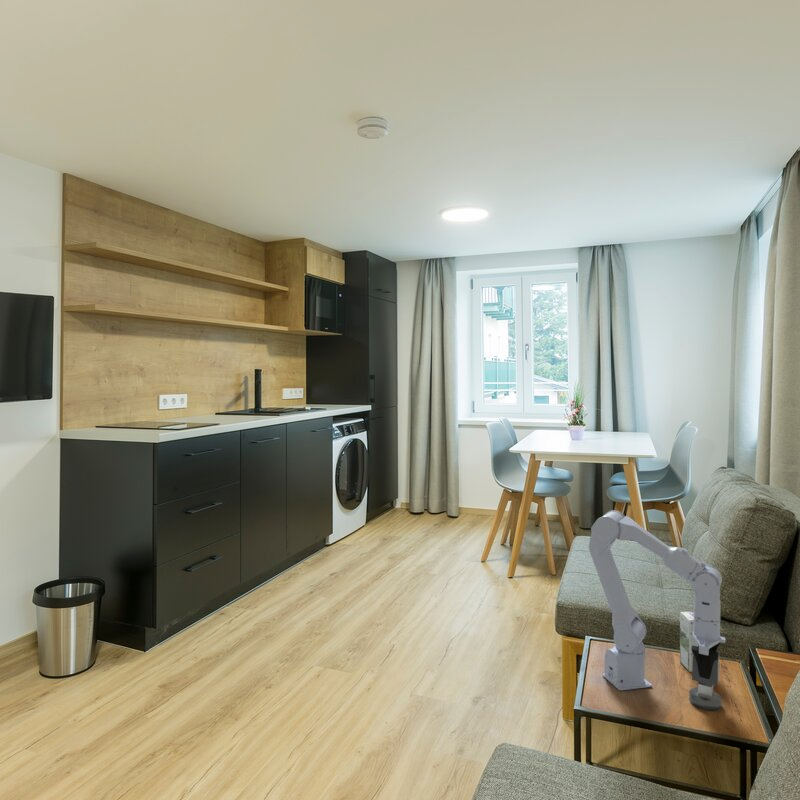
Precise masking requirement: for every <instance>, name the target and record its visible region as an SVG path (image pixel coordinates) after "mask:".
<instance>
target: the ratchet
mask: <svg viewBox="0 0 800 800" xmlns="http://www.w3.org/2000/svg"><path fill="white" fill-rule="evenodd" d="M697 682H698V684H697V687H692V688H690V689H689V691H688V692H689V693H688V695H689V696H688V699H689V702H690V704H692V705H693V706H694V707H695V708H698V709H699V710H700V709H701V710H703V711H708V712H719V711H720V710H721V709H722V708H723V706H722V703H723V702H722V701H723V699H722V696H721V695H720V694H719V693H717V692H716V691H714V689H715V688H714V687H715V685H711V684H707V683H703V682H699V681H697Z"/></svg>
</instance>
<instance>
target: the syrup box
mask: <svg viewBox="0 0 800 800" xmlns="http://www.w3.org/2000/svg"><path fill="white" fill-rule="evenodd" d="M679 614H680V615H679V663H680V664H681V665H682V666H683V667H684V668H685V669H686V670H687V671H688V672H689V673H692V668H693V653H692V645H693V646H698V644H697V642H696V641H695V639H694V638H693V630H694V611H680V613H679Z"/></svg>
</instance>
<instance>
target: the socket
mask: <svg viewBox="0 0 800 800" xmlns="http://www.w3.org/2000/svg"><path fill="white" fill-rule="evenodd" d="M710 651H711V650H710ZM714 652H718V656H717V658H716V660H715V661H714V663H713V667H712V672H711V676H710V679H706V678H702V677H700V676H699V672H698V666H697V662H696V659H695V656H694V654H693V668H692V672H691V673H692V674H691V675H692V677H691V678H692V681H695V682H703V683H707V684H711V685H714V687H715V686H717V687H718V686H719V679H720V651H717V650H716V651H714Z"/></svg>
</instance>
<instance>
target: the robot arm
mask: <svg viewBox="0 0 800 800" xmlns="http://www.w3.org/2000/svg"><path fill="white" fill-rule="evenodd" d="M590 531H591V533H590V539H589V541H588V542H589V543H588V550H589V553H590V556H591V559H592V561H593V564H594V567H595V570H596V573H597V575H598V578H599V580H600V581H599V582H600V584H601V586H602V589H603V592H604V595H605V597H606V601H607V603H608V606H609V609H610V611H611V614H612V615H611V617H612V618H611V619H612V620H611V626H612V628H613V642H614V644H615V645H614V646H613V647H611V648H608V649H606V651H605V653H604V673H603V674H602V676H603V677H604V678H605V679H606V680H608V682H609V683H611V685H613V686H614V688H616V689H617V690H618V691H627V690H628V691H629V690H637V689H643V688H644V689H645V688H651V687H653V684H652V683H650V682H649V681H648V680H647V679H645V675H646V674H645V672H646V668H645V667H646V665H645V664H646V663H645V662H646V647H645V645H644V642H643V640H644V638H646V636H647V632H648V631H647V626H646V625H645V623H644V622H643V621H642V620H641V618H640V617H639V615H638V612H637V611H636V610H635V609H634V608H633V607H632V605H631V601H630V600H629V597H628V593H627V591H626V589H625V586H624V583H623V581H622V577H621V575H620V572H619V569H618V567H617V564H616V562H615V559H614V556H613V554H612V551H611V549H612V546H613V545H614V544H615V541H616V539H617V538H618V537H619V539H618V540H619V541H634V542H636V543H637V544H639V545H640V546H642V547H643V548H645V549H647V550H648V551H650V552H652V553H653V554H655V555H656V556H658V557H660V558H662V560H663V562H664V563H663V564H664V566H665V567H667V568H668V569H669V570H671V571H673V573H675V574H677V575H678V576H680V578H682V579H683V580H685V581H687V582H688V583H691V585H692V587H693V590H694V597H693V612H694V630H693V638H694V639H695V641H696V642H697V644H698V646H693V645H692V653H693V654H694V656H695V659H696V662H697V666H698V672H699V676H700V677H702V678H706V679H710V676H711V672H712V667H713V663H714V661H715V660H716V658H717V656H718V652H719V651H717V650H718V647H719V646H720V645H721V643H722V644H725V643H726V637H725V636H721V607H722V606H721V604H722V603H721V602H722V601H721V599H720V598H721V592H720V591H721V586H722V582H723V577H722V574H721V572H720V571H719V570H718V569H717V568H716V567H715V566H714V565H711V564H707V563H706V562H705V561H700V560H699V559H697V558H695V557H694V556H692V555H691V554H689V553H688V552H689V550H688V549H686V548H684V547H683V548H680V547H677V546H676V547H675V546H674V547H673V546H672V547H670V546H669V545H668V544H666V543H664V542H663V541H662V540H660V538H657V537H656V535H653V534H652V533H651V532H649V531H648V530H647V529H645V528H644V527H643V526H641V525H639V523H637V522H636V521H635V520H633V519H632V518H631V517H630V516H627V515H626V516H625V515H624V514H623V513H622V512H621V511H619V510H609V511H607V512H606V513H605V514H604V515H603V516H601V517H598V518H597V519H596V520H595V522H594V523H593V525H592V526H591V527H590ZM710 650H711V651H710ZM714 651H716V652H714Z"/></svg>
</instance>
